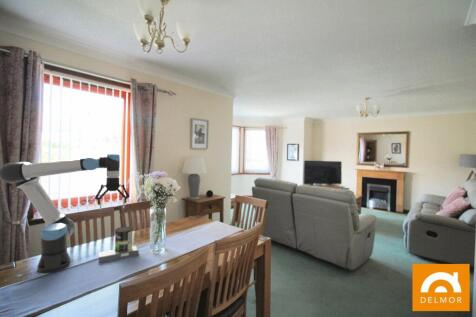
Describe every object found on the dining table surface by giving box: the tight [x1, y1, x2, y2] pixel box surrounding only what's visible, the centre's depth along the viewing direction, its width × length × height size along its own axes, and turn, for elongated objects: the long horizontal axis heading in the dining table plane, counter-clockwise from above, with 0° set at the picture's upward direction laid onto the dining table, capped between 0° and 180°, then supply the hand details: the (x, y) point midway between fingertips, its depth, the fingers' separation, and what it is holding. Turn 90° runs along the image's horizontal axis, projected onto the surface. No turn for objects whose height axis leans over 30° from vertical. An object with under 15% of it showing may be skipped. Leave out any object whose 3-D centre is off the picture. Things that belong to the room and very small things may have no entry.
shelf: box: [98, 245, 140, 264], centre depth 152 cm, size 22×12×3 cm, turn 121°
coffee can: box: [114, 226, 133, 253], centre depth 154 cm, size 10×10×14 cm
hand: (112, 208), depth 158 cm, fingers open, 13 cm apart
